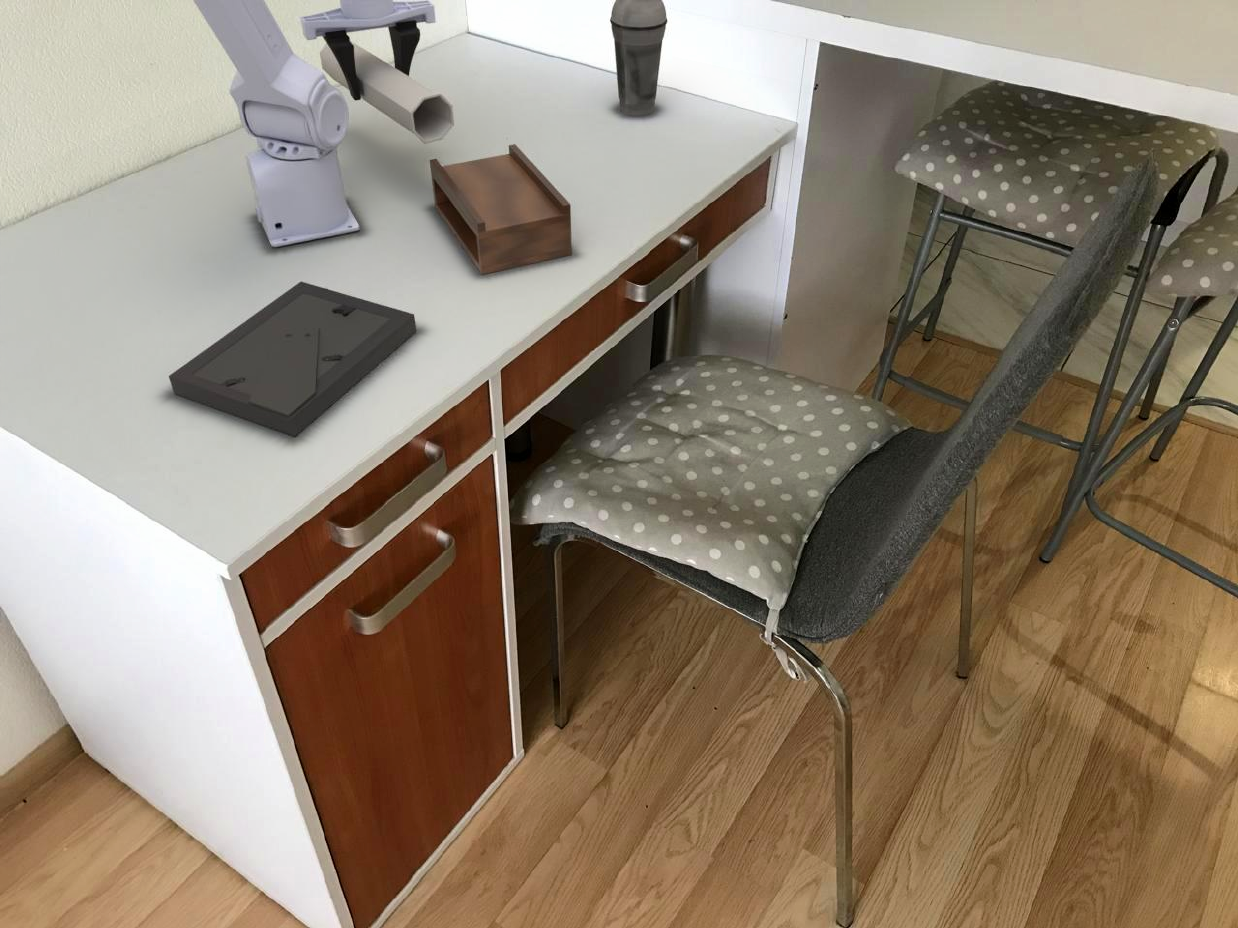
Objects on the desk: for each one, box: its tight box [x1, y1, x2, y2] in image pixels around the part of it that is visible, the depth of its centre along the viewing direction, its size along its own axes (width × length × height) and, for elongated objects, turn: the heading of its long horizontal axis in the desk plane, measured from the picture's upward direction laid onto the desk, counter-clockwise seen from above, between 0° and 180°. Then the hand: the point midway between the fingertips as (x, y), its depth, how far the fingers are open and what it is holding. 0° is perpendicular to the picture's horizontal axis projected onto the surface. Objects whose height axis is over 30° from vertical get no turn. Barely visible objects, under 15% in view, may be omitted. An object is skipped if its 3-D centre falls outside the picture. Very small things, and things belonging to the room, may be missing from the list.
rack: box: [429, 143, 573, 275], centre depth 113 cm, size 10×16×6 cm, turn 25°
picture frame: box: [168, 281, 417, 438], centre depth 95 cm, size 13×2×18 cm
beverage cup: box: [609, 0, 668, 117], centre depth 134 cm, size 7×7×20 cm
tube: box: [319, 40, 455, 145], centre depth 121 cm, size 5×5×25 cm
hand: (379, 93), depth 122 cm, fingers closed on tube, 5 cm apart
